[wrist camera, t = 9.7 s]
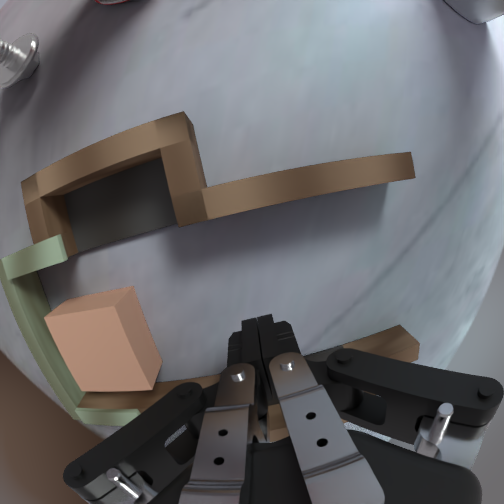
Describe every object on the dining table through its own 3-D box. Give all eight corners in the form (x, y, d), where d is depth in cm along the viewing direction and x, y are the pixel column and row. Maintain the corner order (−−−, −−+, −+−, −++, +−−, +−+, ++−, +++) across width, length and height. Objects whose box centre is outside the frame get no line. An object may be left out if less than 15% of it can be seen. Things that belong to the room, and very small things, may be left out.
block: (134, 284, 17) (114, 305, 13) (163, 359, 18) (152, 389, 15) (68, 298, 17) (43, 317, 13) (98, 365, 18) (81, 391, 15)
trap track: (370, 98, 15) (396, 83, 11) (396, 375, 20) (413, 398, 16) (7, 203, 14) (-21, 208, 11) (106, 427, 20) (96, 451, 16)
